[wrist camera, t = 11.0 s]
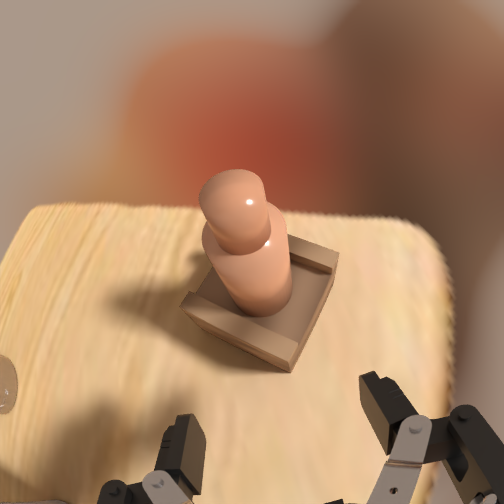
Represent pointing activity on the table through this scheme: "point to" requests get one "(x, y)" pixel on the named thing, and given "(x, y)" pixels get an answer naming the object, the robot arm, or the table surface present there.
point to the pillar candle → (38, 502)
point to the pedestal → (278, 325)
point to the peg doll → (246, 242)
